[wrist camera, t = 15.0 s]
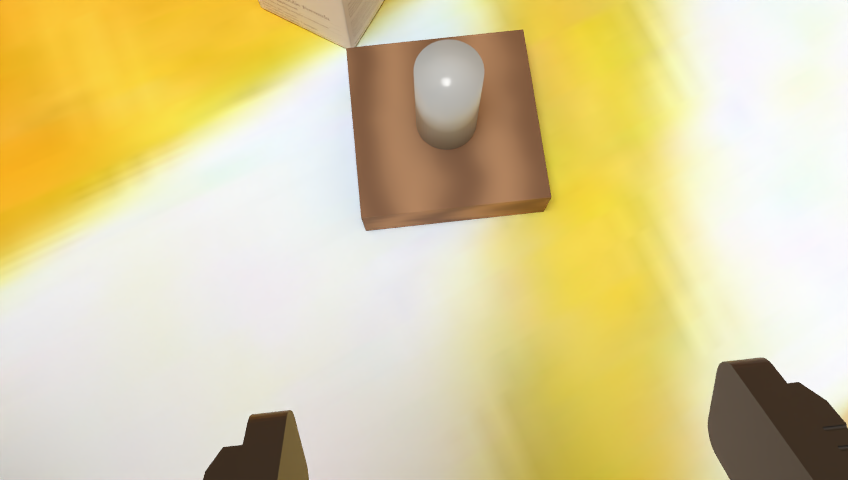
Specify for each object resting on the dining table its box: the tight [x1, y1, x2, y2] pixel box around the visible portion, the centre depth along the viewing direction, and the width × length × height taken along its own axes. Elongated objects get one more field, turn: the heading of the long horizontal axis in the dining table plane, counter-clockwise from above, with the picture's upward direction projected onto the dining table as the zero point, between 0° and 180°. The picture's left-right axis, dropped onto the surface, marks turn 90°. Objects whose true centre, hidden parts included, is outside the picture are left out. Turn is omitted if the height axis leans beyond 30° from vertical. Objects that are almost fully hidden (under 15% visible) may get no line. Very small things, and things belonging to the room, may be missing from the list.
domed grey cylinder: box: [414, 39, 484, 150], centre depth 46 cm, size 5×5×8 cm
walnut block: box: [346, 30, 551, 231], centre depth 52 cm, size 14×14×4 cm
